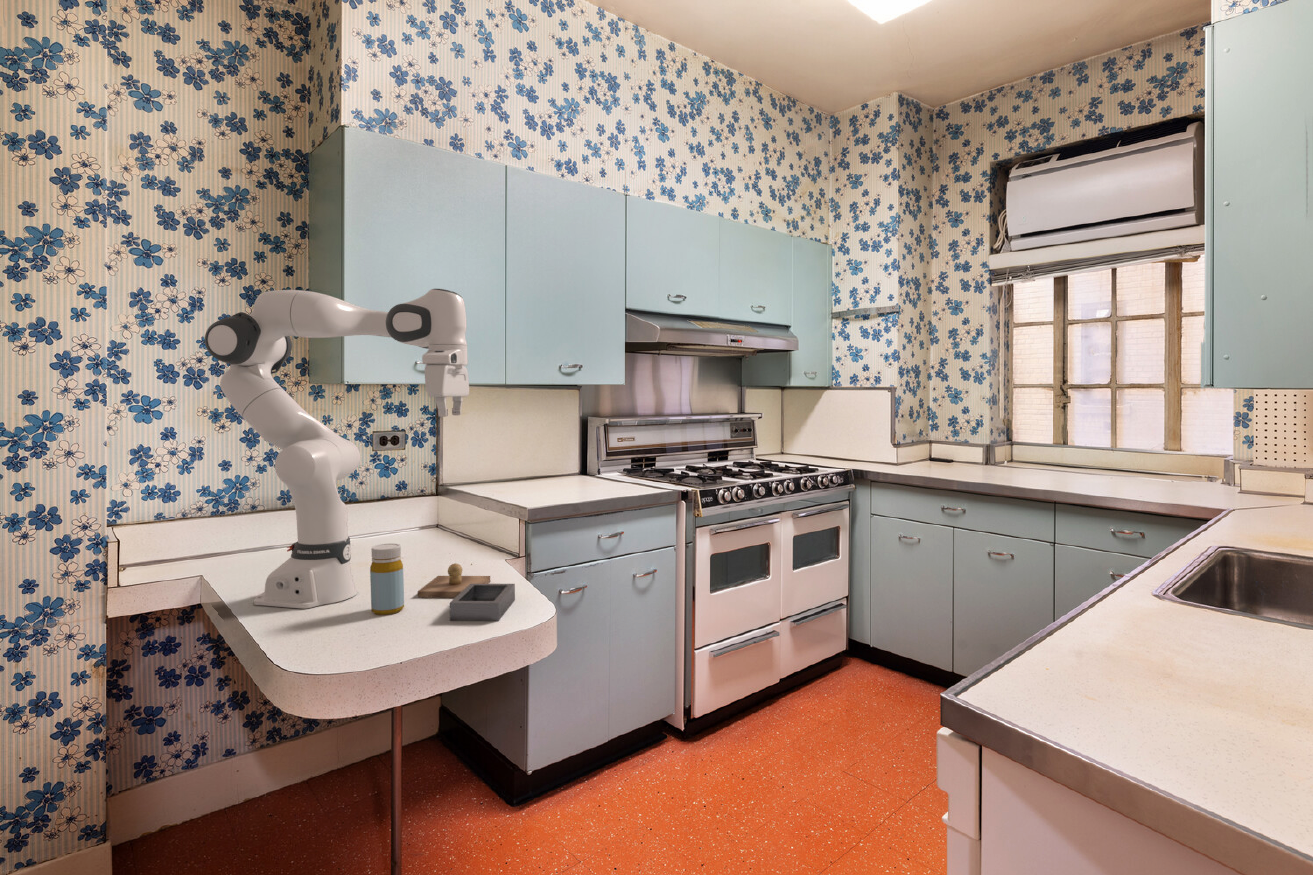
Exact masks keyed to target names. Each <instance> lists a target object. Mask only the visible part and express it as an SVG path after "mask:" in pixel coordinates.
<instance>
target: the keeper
mask: <svg viewBox="0 0 1313 875" xmlns="http://www.w3.org/2000/svg"><path fill="white" fill-rule="evenodd" d="M462 573H463V567H462V565H461V564H459V563H456V562H455V563H452V564H451V565H449V566H448V568H447V574H448V575H437V576H436V577H435V578H433V579H432V580H431V581H429V582H427V584H425V585H424V586H423V587H421V588H420V589H419V590H417V598H449V599H450V598H453V599H454V598H455V597H456V596H458V595H459V594H460V593H461V592H462V591H463V590H464V589H465V588H466V587H467V586H468V585H469V584H490V582H491V575H462Z"/></svg>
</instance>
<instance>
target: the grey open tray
mask: <svg viewBox="0 0 1313 875" xmlns="http://www.w3.org/2000/svg"><path fill="white" fill-rule="evenodd" d="M515 601H516V584H515V583H488V584H469V585H468V586H467V587H466V588H465V589H464V590H463V591H462V592H461V593H460V594H459V595H458V596H456V597H455V598H453V599H452V600H451V601H450V602H449V621H452V622H455V621H456V622H464V621H465V622H466V621H467V622H468V621H469V622H499V621H500V620H501V618H503V616H504V615H505V613H506V612H507V611H508V610H509V609H510V607H511V606H512V604H514V602H515Z"/></svg>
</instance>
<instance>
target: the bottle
mask: <svg viewBox="0 0 1313 875" xmlns="http://www.w3.org/2000/svg"><path fill="white" fill-rule="evenodd" d="M401 555H402V548H401V544H399V543H380V544H377V545H376V544H375V545H373V546H372V547H371V565H370V568H369V574H370V576H369V577H370V604H371V605H370V608H371V612H372V613H373V614H375V615H378V616H385V615H386V616H388V615H394V614H398V613H399V612H401V611H403V609H404V607H405V583H404V580H405V579H404V564H403V561H402V559H401V558H402V556H401Z"/></svg>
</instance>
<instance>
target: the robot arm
mask: <svg viewBox="0 0 1313 875" xmlns="http://www.w3.org/2000/svg"><path fill="white" fill-rule="evenodd" d="M466 313H467V312H466V304H465V301H464V299H463V297H462V296H461V295H460V294H459V293H457V292H455V291H452V290H448V289H444V288H431V289H430V290H428V292H426V293H425V294H423V295H421V296H420V297H418V298H415V299H413V300H409V301H407V302H403V303H398V304H395V305H394V306H393V307H392V308H390V309H389V311H383V310H382V311H381V310H375V309H369V308H364V307H362V306H358V305H356V304H353V303H351V302H347V301H345V300H344V299H343V300H342V299H340V298H337V297H334V296H331V295H329V294H325V293H320V292H315V291H311V290H299V289H279V290H278V289H277V290H269V291H268V290H267V291H264V292H262V293H261V294H259V295H258V296H257V298H256V299H255V300H254V304H253V309H252V312H251V313H250V314H249V313H247V312H246V313H245V312H242V311H241V312H237V313H235V314H232V315H231V316H228V317H224V318H221V319H219V320H217V321H215V322H213V323H212V324H210V326H209V327H208V328H207V330H206V332H205V334H204V345H205V349H206V350H207V352H208V353H209V354H210V355H211V356H212V357H213V358H215V359H216V360H217V361H220V362H222V363H225V364H228V365H230V367H229V369H227V370H226V371H225V372H224V374H223V375H222V376H221V378H220V382H219V386H220V389H221V392H222V393H223V395H224V396H225V398H226V399H227V401H228V402H229V403H230V405H231V406H232V407H233V409H234V410H235V411H236V412H237V413H238V414H239V415H240V417H242V418H243V420H245V422H247V424H248V425H249V426H250V427H252V429H253V430H254V431H255V432H257V434H258V435H259V436H260V437H261V438H262V439H263V440H264V441H266V442H267V443H268V444H270V445H271V446H275V447H278V448H280V449H281V451H279V453H278V454H277V455H276V458H275V460H274V461H275V462H274V470H275V473H276V475H277V477H278V479H279V480H280V481H281V482H282V483H283V484H285V485H286V488H288V491H289V493H290V495H291V498H292V501H293V505H294V509H295V515H296V531H297V532H296V533H297V535H296V536H297V541H295V542H294V543H292V544H291V545H289V546H286V549H287V550H286V552H291V554H290V557H289V558H288V559H287V560H285V561H284V562H282V563H281V564H280V565H279V566H278V567H277V568H275V569H273V571H272V572H270V573H269V575H267V578H266V580H265V584H264V590H263V592H262V593H260V594H259V595H257V596H255V598H254V600H253V605H254V606H264V607H266V606H268V607H280V608H281V607H282V608H291V609H292V608H293V609H305V610H306V609H310V608H314V607H318V606H323V605H327V604H333V603H337V602H342V601H346V600H347V599H348V600H349V599H351V598H352V597H354V596H356V595H357V593H358V590H357V587H356V585H355V581H354V578H353V577H354V576H353V574H352V573H353V572H352V567H351V557H352V555H351V554H352V552H351V550H352V548H351V538H350V537H349V525H348V521H349V519H348V507H347V504H346V503H345V502H343V501H342V498H341V496H340V495H339V492H338V488H337V484H336V482H337V481H340V480H343V479H345V478H347V477H348V476H350V475H351V474H352V473H353V472H355V471H356V470H357V469H358V467H359V465H360V462H361V454H360V449H359V448H358V446H356V444H354V443H355V442H352V441H351V440H348V439H346V438H344V437H342V436H340V435H339V434H337V433H336V432H335V431H333V430H332V429H330V428H329V427H327V426H326V425H325V424H323V423H322V422H320V421H319V420H318V419H316V418H315V417H313V416H312V415H311V414H309V413H308V412H307V410H305V409H304V408H302V406H301V405H300V404H299V403H297V402H296V400H295V399H293V397H292V396H291V395H290V394H289V393H287V392H286V391H285V389H284V388H283V387H281V385H279V384H278V382H276V381H275V379H274V378H273V376H272V374H276V373H278V372H279V371H280V369H281V368H282V366H283V364H285V362H286V361H287V360H288V359H289V357H290V355H291V353H292V350H293V341H292V338H291V337H298V338H299V337H300V338H309V339H321V338H322V339H326V338H339V337H340V338H341V337H353V336H375V337H384V338H386V337H387V338H392V339H393V340H394V341H397V342H398V343H401V344H404V345H409V346H415V347H419V348H422V349H426V350H427V351H426V352H425V353H423V354H422V357H421V358H422V359H421V362H422V364H423V365H425V366H424V382H425V391H426V394H427V396H428V397H429V398H434V397H435V398H434V399H435V400H434V401H435V404H436V408H437V414H438V417H441V418H443V417H445V418H446V417H448V415H449V409H448V408H447V403H446V402H448V401H447V397H449V398H450V397H452V402H453V404H452V408H451V414H452V416H461V415H462V406H463V401H464V399H463V398H464V397H465V398H466V397H469V395H470V394H469V393H470V383H469V382H470V380H469V372H468V369H467V366H468V361H469V360H468V343H467V339H466V331H467V329H468V328H467V327H468V326H467V314H466Z"/></svg>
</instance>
